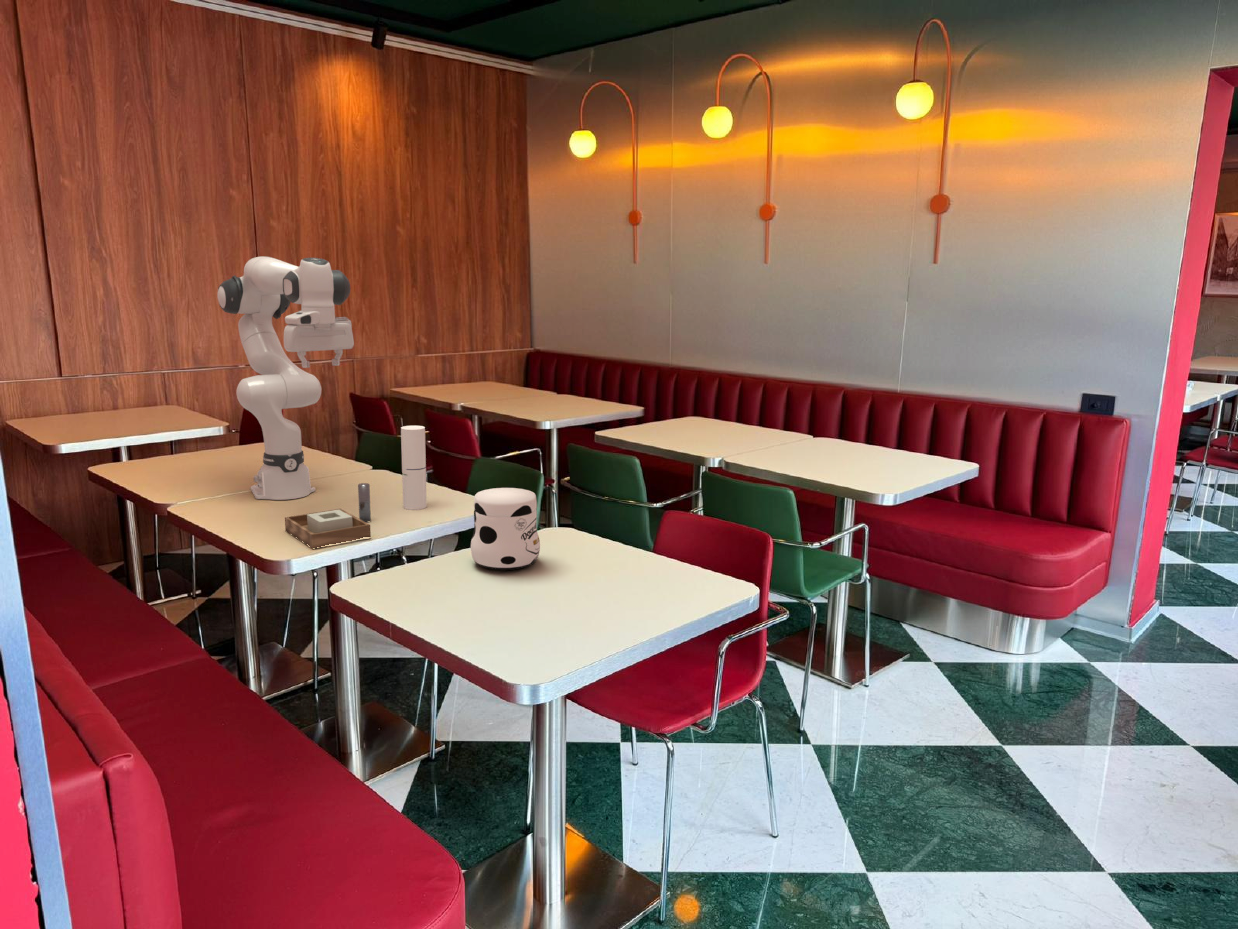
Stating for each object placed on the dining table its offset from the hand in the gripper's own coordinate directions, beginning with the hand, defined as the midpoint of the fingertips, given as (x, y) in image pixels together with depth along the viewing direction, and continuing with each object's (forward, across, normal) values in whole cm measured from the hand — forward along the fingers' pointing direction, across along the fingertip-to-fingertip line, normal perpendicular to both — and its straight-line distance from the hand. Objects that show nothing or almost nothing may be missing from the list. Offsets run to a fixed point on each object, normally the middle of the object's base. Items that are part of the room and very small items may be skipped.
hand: (321, 366), depth 246 cm
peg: (+45, -5, +10) cm, 46 cm away
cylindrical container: (+45, -25, +8) cm, 52 cm away
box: (+45, +10, +15) cm, 48 cm away
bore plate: (+45, +10, +17) cm, 49 cm away
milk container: (+45, -8, +67) cm, 82 cm away
